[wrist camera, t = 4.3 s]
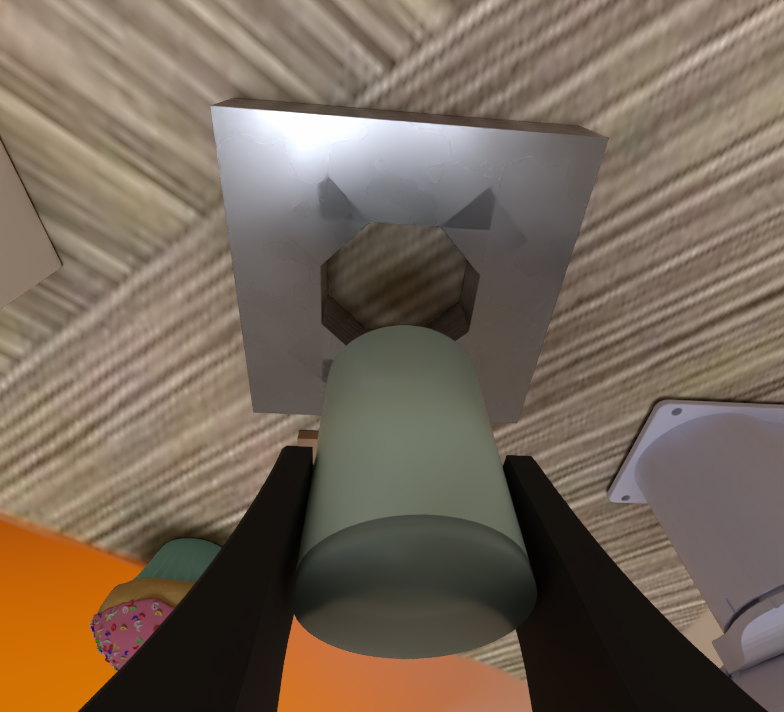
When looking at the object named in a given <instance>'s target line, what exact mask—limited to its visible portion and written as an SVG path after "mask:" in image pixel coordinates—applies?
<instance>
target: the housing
mask: <svg viewBox="0 0 784 712" xmlns="http://www.w3.org/2000/svg"><path fill="white" fill-rule="evenodd" d="M210 107H211V114H212V121H213V128H214V135H215V142H216V149H217V156H218V164H219V171H220V178H221V185H222V192H223V199H224V206H225V213H226V221H227V228H228V235H229V242H230V249H231V256H232V263H233V270H234V278H235V285H236V292H237V299H238V306H239V313H240V320H241V327H242V335H243V342H244V349H245V356H246V363H247V370H248V377H249V384H250V392H251V399H252V406H253V412H255V413H279V414H303V415H322V410H323V404H324V397H325V391H326V385H327V379H328V375H329V371H330V368H331V366H332V363H333V361H334V360H335V358H336V357H337V355H338V354H339V353H340V352H341V351H342V349H343V348H344V347H346V346H347V345H348V344H349V343H350V342H351V341H353V340H355V339H356V338H358V337H359V336H361V335H363V334H365V333H367V332H370V331H373V330H365V329H364V328H363V327H362V326H361V325H360V324H359V323H358V322H357V321H356V320H355V319H354V318H353V317H351V316H350V315H349V314H348V313H347V312H346V311H345V310H344V309H343V308H342V307H341V306H340V305H339V304H338V303H337V302H336V301H334V300H333V299H332V298H331V297H330V296H329V295H328V259H329V258H330V257H331V256H332V255H333V254H334V253H336V252H337V251H338V250H339V249H340V248H341V247H342V246H343V245H345V244H346V243H347V242H348V241H349V240H350V239H351V238H353V237H354V236H355V235H356V234H357V233H358V232H359V231H360V230H362V229H363V228H364V227H365V226H366V225H367V224H368V223H370V222H375V223H390V224H405V225H420V226H435V227H441V228H442V229H443V230H444V232H445V233H446V234H447V235H448V237H449V238H450V239H451V240H452V242H453V243H454V244H455V245H456V246H457V248H458V249H459V250H460V251H461V253H462V254H463V255H464V256H465V258H466V259H467V265H466V270H465V276H464V281H463V287H462V292H461V298H460V302H459V303H457V304H456V305H455V306H453V307H452V308H451V309H449V310H448V311H446V312H445V313H444V314H442V315H441V316H439V317H438V318H437V319H435V320H434V321H433V322H431V323H430V324H428V325H427V326H426V327H424V328H428V329H432V330H435V331H437V332H440V333H442V334H444V335H446V336H448V337H449V338H451V339H452V340H454V341H455V342H456V343H457V344H459V345H460V346H461V347H462V348H463V349H464V351H465V352H466V353H467V354H468V356H469V358H470V359H471V361H472V363H473V366H474V369H475V372H476V375H477V379H478V383H479V386H480V390H481V393H482V397H483V400H484V404H485V407H486V411H487V414H488V418H489V421H490V422H496V423H517V422H518V419H519V416H520V413H521V410H522V407H523V404H524V400H525V397H526V394H527V391H528V388H529V385H530V382H531V379H532V376H533V372H534V369H535V366H536V363H537V360H538V357H539V354H540V351H541V348H542V344H543V341H544V338H545V335H546V332H547V329H548V326H549V323H550V320H551V316H552V313H553V310H554V307H555V304H556V301H557V298H558V295H559V292H560V289H561V285H562V282H563V279H564V276H565V273H566V270H567V267H568V264H569V261H570V257H571V254H572V251H573V248H574V245H575V242H576V239H577V236H578V233H579V229H580V226H581V223H582V220H583V217H584V214H585V211H586V208H587V205H588V201H589V198H590V195H591V192H592V189H593V186H594V183H595V180H596V177H597V174H598V170H599V167H600V164H601V161H602V158H603V155H604V152H605V149H606V146H607V142H608V139H609V138H608V137H605V136H603V135H600V134H598V133H595V132H593V131H590V130H588V129H585V128H583V127H580V126H573V125H561V124H549V123H536V122H524V121H512V120H500V119H488V118H476V117H463V116H451V115H439V114H427V113H415V112H402V111H390V110H378V109H366V108H354V107H342V106H329V105H317V104H305V103H293V102H281V101H268V100H256V99H244V98H231V99H229V100H226V101H223V102H220V103H217V104H214V105H211V106H210Z"/></svg>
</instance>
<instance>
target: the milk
mask: <svg viewBox="0 0 784 712" xmlns="http://www.w3.org/2000/svg"><path fill="white" fill-rule="evenodd" d="M61 266H62V265H61V262H60V260H59V258H58V256H57V254H56V252H55V250H54V248H53V246H52V244H51V242H50V240H49V238H48V236H47V234H46V232H45V230H44V228H43V226H42V224H41V222H40V220H39V218H38V216H37V213H36V211H35V209H34V207H33V205H32V203H31V201H30V199H29V197H28V195H27V193H26V191H25V189H24V187H23V185H22V183H21V181H20V179H19V177H18V175H17V173H16V171H15V169H14V167H13V165H12V163H11V161H10V159H9V157H8V155H7V153H6V150H5V148H4V146H3V144H2V142H1V140H0V309H2V308H3V307H5V306H6V305H8V304H9V303H11V302H12V301H13V300H15V299H16V298H18V297H19V296H21V295H22V294H24V293H25V292H26V291H28V290H29V289H31V288H32V287H34V286H35V285H37V284H38V283H39V282H41V281H42V280H44V279H45V278H47V277H48V276H50V275H51V274H52V273H54V272H55V271H57V270H58V269H60V268H61Z"/></svg>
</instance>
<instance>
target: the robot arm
mask: <svg viewBox="0 0 784 712" xmlns="http://www.w3.org/2000/svg"><path fill="white" fill-rule="evenodd" d="M503 470H504V474H505V477H506V481H507V484H508V488H509V491H510V495H511V499H512V502H513V506H514V509H515V513H516V516H517V520H518V523H519V527H520V530H521V534H522V537H523V541H524V544H525V548H526V551H527V555H528V558H529V562H530V565H531V569H532V572H533V576H534V579H535V583H536V587H537V599H536V603H535V606H534V608H533V610H532V612H531V613H530V615H529V616H528V618H527V619H526V620H525V621H524V622H523V623H522V624H521V625H520V626H518V627H517V628H516V632H517V636H518V640H519V643H520V647H521V652H522V657H523V661H524V666H525V670H526V676H527V682H528V688H529V694H530V700H531V706H532V711H533V712H784V405H775V404H753V403H731V402H709V401H687V400H663V401H660V402H659V403H657V404H656V405H655V407H654V409H653V411H652V412H651V414H650V416H649V418H648V420H647V422H646V423H645V425H644V427H643V429H642V431H641V432H640V434H639V436H638V438H637V440H636V442H635V443H634V445H633V447H632V449H631V451H630V453H629V454H628V456H627V458H626V460H625V462H624V463H623V465H622V467H621V469H620V471H619V473H618V474H617V476H616V478H615V480H614V482H613V484H612V485H611V487H610V489H609V491H608V493H607V496H608V498H609V500H610V501H611V502H615V503H647V504H649V506H650V508H651V509H652V511H653V513H654V514H655V516H656V518H657V520H658V521H659V523H660V525H661V526H662V528H663V530H664V532H665V533H666V535H667V537H668V538H669V540H670V542H671V544H672V545H673V547H674V549H675V550H676V552H677V554H678V556H679V557H680V559H681V561H682V562H683V564H684V566H685V568H686V569H687V571H688V573H689V574H690V576H691V578H692V580H693V581H694V583H695V585H696V586H697V588H698V590H699V592H700V593H701V595H702V597H703V598H704V600H705V602H706V604H707V605H708V607H709V609H710V611H711V612H712V614H713V616H714V617H715V619H716V621H717V622H718V624H719V626H720V628H721V629H722V631H723V633H724V635H722V636H721V637H719V638H717V639H715V640H713V641H712V644H713V646H714V648H715V650H716V652H717V653H718V655H719V657H720V659H721V660H722V662H723V664H724V666H722V667H721V668H718V667H717V666H716V665H715V664H714V663H713V662H712V661H710V660H709V659H708V658H707V657H706V656H705V655H704V654H703V653H702V652H700V651H699V650H698V649H697V648H696V647H695V646H694V645H693V644H692V643H691V642H690V641H689V640H688V639H687V638H686V637H685V636H684V635H683V634H681V633H680V632H679V631H678V630H677V629H676V628H675V627H674V626H673V625H672V624H671V623H670V622H669V621H668V620H667V619H666V618H665V617H664V616H663V615H662V613H661V612H660V611H659V610H658V609H657V608H656V607H655V606H654V605H653V604H652V603H651V602H650V601H649V600H648V599H647V598H646V597H645V596H644V595H643V594H642V593H641V592H640V591H639V589H638V588H637V587H636V586H635V585H634V584H633V583H632V582H631V581H630V580H629V578H628V577H627V576H626V575H625V574H624V573H623V572H622V570H621V569H620V568H619V567H618V566H617V565H616V564H615V562H614V561H613V560H612V559H611V558H610V557H609V555H608V554H607V553H606V552H605V551H604V549H603V548H602V547H601V546H600V545H599V544H598V542H597V541H596V540H595V539H594V537H593V536H592V535H591V534H590V532H589V531H588V530H587V529H586V527H585V526H584V525H583V524H582V522H581V521H580V520H579V519H578V517H577V516H576V515H575V513H574V512H573V511H572V510H571V508H570V507H569V506H568V504H567V503H566V502H565V500H564V499H563V498H562V496H561V495H560V494H559V492H558V491H557V490H556V488H555V487H554V486H553V484H552V483H551V482H550V480H549V479H548V478H547V476H546V475H545V474H544V472H543V471H542V469H541V468H540V467H539V465H538V464H537V463H536V461H535V460H534V459H533V458H532V456H515V455H507V456H506V459H505V462H504V465H503ZM312 471H313V447H305V446H286V447H284V448H283V449H282V451H281V453H280V455H279V457H278V459H277V461H276V463H275V465H274V467H273V469H272V471H271V472H270V474H269V476H268V478H267V479H266V481H265V483H264V485H263V486H262V488H261V490H260V491H259V493H258V495H257V496H256V498H255V499H254V501H253V503H252V504H251V506H250V507H249V509H248V510H247V512H246V513H245V515H244V517H243V518H242V520H241V521H240V523H239V524H238V526H237V527H236V529H235V530H234V532H233V533H232V534H231V536H230V537H229V538H228V540H227V541H226V543H225V544H224V545H223V547H222V548H221V550H220V551H219V552H218V554H217V555H216V556H215V558H214V559H213V561H212V562H211V563H210V565H209V566H208V567H207V569H206V570H205V571H204V573H203V574H202V575H201V576H200V578H199V579H198V580H197V581H196V583H195V584H194V585H193V586H192V588H191V589H190V590H189V591H188V593H187V594H186V595H185V596H184V597H183V599H182V600H181V601H180V602H179V604H178V605H177V606H176V607H175V608H174V610H173V611H172V612H171V613H170V614H169V615H168V617H167V618H166V619H165V620H164V621H163V622H162V623H161V624H160V626H159V627H158V628H157V629H156V630H155V631H154V632H153V633H152V635H151V636H150V637H149V638H148V639H147V640H146V641H145V643H144V644H143V645H142V646H141V647H140V648H139V649H138V650H137V651H136V652H135V653H134V655H133V656H132V657H131V658H130V659H129V660H128V661H127V662H126V663H125V664H124V665H123V666H122V667H121V668H120V670H119V671H118V672H117V673H116V674H115V675H114V676H113V677H112V678H111V679H110V680H109V681H108V682H107V683H106V684H105V685H104V686H103V687H102V688H101V689H100V690H99V691H98V692H97V693H96V694H95V695H94V696H93V697H92V698H91V699H90V700H89V701H88V702H87V703H86V704H85V705H84V706H83V707H82V708H81V709H80V710H79V711H78V712H277V708H278V701H279V693H280V687H281V679H282V672H283V665H284V660H285V654H286V649H287V643H288V638H289V634H290V630H291V625H292V620H293V616H294V613H293V609H292V592H293V586H294V580H295V574H296V568H297V562H298V556H299V550H300V544H301V538H302V531H303V525H304V519H305V513H306V507H307V501H308V495H309V489H310V483H311V477H312Z"/></svg>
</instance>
